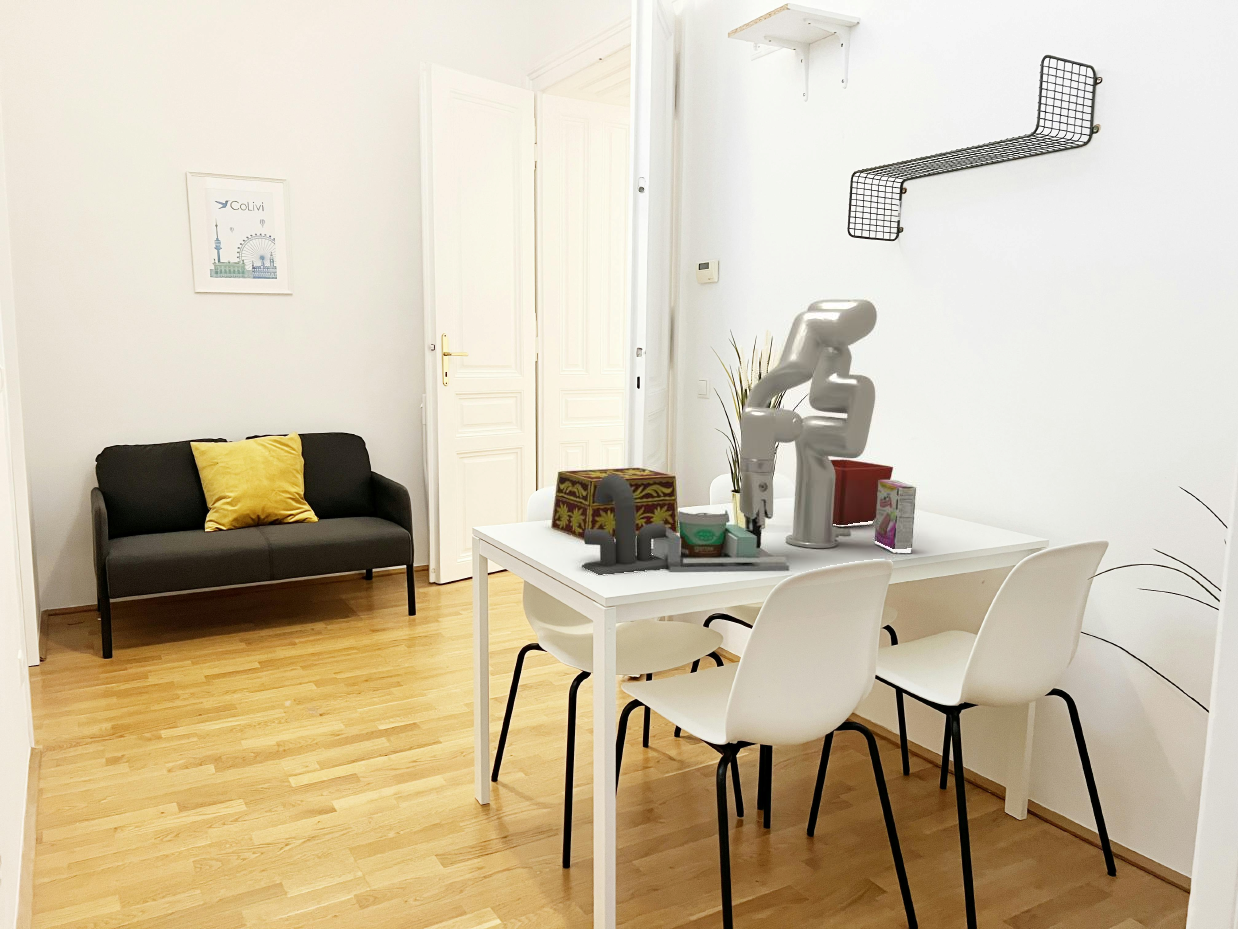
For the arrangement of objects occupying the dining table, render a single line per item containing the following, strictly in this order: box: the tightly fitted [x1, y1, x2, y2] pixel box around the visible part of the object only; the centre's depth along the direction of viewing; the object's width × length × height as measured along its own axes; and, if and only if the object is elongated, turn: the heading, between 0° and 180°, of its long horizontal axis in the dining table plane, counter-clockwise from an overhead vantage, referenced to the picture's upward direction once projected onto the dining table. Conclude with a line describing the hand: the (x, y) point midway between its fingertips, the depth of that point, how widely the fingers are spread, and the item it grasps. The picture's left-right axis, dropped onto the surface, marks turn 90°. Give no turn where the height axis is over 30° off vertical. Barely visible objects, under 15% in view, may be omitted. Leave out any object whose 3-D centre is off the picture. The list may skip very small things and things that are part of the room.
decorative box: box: [550, 467, 680, 541], centre depth 236 cm, size 28×19×15 cm
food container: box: [676, 509, 730, 558], centre depth 204 cm, size 12×6×10 cm, turn 106°
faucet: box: [581, 474, 667, 576], centre depth 198 cm, size 18×16×20 cm
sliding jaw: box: [722, 523, 757, 563], centre depth 205 cm, size 4×14×6 cm, turn 11°
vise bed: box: [651, 525, 790, 573], centre depth 205 cm, size 26×18×7 cm
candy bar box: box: [874, 479, 917, 549], centre depth 224 cm, size 11×5×16 cm, turn 9°
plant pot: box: [830, 458, 894, 525], centre depth 257 cm, size 19×19×17 cm
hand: (752, 547), depth 206 cm, fingers closed
